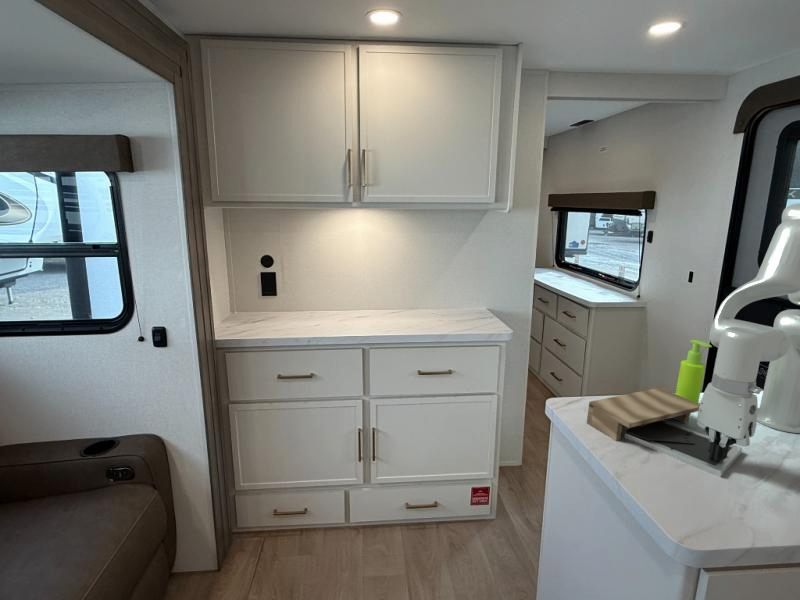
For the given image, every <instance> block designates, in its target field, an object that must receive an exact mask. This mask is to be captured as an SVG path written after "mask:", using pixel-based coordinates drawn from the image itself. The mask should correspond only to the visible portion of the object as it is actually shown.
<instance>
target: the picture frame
mask: <svg viewBox="0 0 800 600" xmlns="http://www.w3.org/2000/svg"><path fill="white" fill-rule="evenodd" d="M624 439H626V440H629V441H631V442H633V441H634V443H635V444H638V443H639V444H638V445H641V444H642V445H641V446H643V445H644V446H643V447H645V446H646V448H648V447H649V449H650V448H652V449H651V450H653V449H654V450H653V451H655V450H657V451H656V452H658V451H660V452H662V453H664V454H663V455H665V454H666V455H665V456H667V455H669V456H668V457H670V456H671V457H670V458H672V457H673V459H675V458H676V459H675V460H677V461H679V460H680V462H681V463H685V464H687V465H690V466H692V467H695V468H697V469H699V470H701V471H704V472H706V473H709V474H710V475H713V476H716V477H718V478H721V477H722V476H723V475H724V474H725V473H726V471H727V470H728V469H729V468H730V467H731V466H732V464H734V463H735V461H736V459H738V458H739V456H740V455H741V454H742V450H743V447H741V446H739V445H736V444H733V445H730V446H729V449H728V454H727V457H726V459H724V460H722V461H718V462H716V461H714V460H713V459H710V458H709V455H710V453H709V449H710V444H711V441H710V440H709V436H708V434H703V433H701V432H699V431H696V430H693V429H691V428H687V427H685V426H682V425H680V424H676V423H674V422H671V421H668V420H666V419H664V420H660V421H656V422H652V423H648V424H643V425H639V426H635V427H631V428H627V429H626V430H625V433H624ZM660 452H659V453H660ZM662 453H661V454H662Z"/></svg>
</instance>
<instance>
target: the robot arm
mask: <svg viewBox="0 0 800 600" xmlns="http://www.w3.org/2000/svg"><path fill="white" fill-rule="evenodd" d="M775 229H776V230H775V231H774V234H773V236H772V238H771V241H770V243H769V246H768V248H767V251H766V253H765V255H764V258H763V260H762V263H761V265H760V267H759V270H758V272H757V274H756V277H754V278H753V279H752V280H750V281H747V282H746V283H744V284H742V285H740V286H739V287H738V288H736V289H735V290H733V291H732V292H731V293H729V295H727V296H726V298H725V299H724V300H723V301H722V302H721V303H720V306H719V308H718V310H717V312H716V314H715V317H714V319H713V320H712V324H711V328H710V330H709V341H710V343H711V344H712V345H713V347H715V348H717V352H716V358H715V361H714V368H713V373H712V378H711V382H709V383H708V384H707V386H706V388H705V390H704V392H703V394H702V398H701V400H700V403H699V404H700V406H699V410H698V411H697V421H696V424H697V426H699V427H700V428H701V429H702V430H704V431H705V432H706V435H707V436H709V440H710V441H711V444H710V449H709V453H710V455H709V458H710V459H713V460H714V461H716V462H718V461H722V460H724V459H726V457H727V454H728V449H729V446H730V445H735V446H739V447H745V448H746V447H749V446H750V438H753V437H754V436H755V432H756V428H757V423H760V424H762V425H764V426H766V427H769V428H771V429H774V430H778V431H782V432H787V433H793V434H800V309H793V308H792V309H786V310H782V311H780V312H779V313H778V314H777V315H776V317H775V318H774V321H773V326H769V325H764V324H759V323H755V322H751V321H746V320H741V319H736V318H735V317H736V315H737V314H738V312H740V310H741V309H743V308H744V307H745V306H747V305H749V304H751V303H753V302H756V301H761V300H763V299H769V298H775V297H780V296H781V297H782V296H787V297H788V300H789V301H790V302H791V303H792V304H794V305H797V306H800V203H799V202H797V203H794V204H793V203H792V204H789V205H787V206H785V208H784V209H783V211H782V213H781V223H780V224H779V225H778V226H777V227H776V228H775ZM760 362H769V364H768V369H767V373H766V377H765V383H764V387H763V391H762V389H761V388H760V387H758V386H757V376H758V372H759V367H760V364H761V363H760ZM761 392H762V396H761V400H760V405H759V407H758V396H757V395H759V394H760V393H761ZM756 394H757V395H756Z"/></svg>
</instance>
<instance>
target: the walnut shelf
mask: <svg viewBox="0 0 800 600" xmlns="http://www.w3.org/2000/svg"><path fill="white" fill-rule="evenodd" d="M699 406H700V403H698V404H697V403H695V402H693V401H690V400H688V399H686V398H683V397H681V396H679V395H676V393H674V392H671V391H669V390H667V389H665V388H662V387H657V388H652V389H651V388H650V389H645V390H641V391H637V392H631V393H627V394H621V395H617V396H611V397H606V398H601V399H596V400H592V401H589V402H588V409H587V419H586V424H587V425H589V426H590V427H592V428H594V429H595V430H597V431H599V432H601V433H602V434H603V435H605V436H607V437H609V438H611V440H613V441H615V442H616V441H620V440H621V436H622V428H623V426H624V427H626V428H627V429H629V428H631V427H635V426H639V425H643V424H648V423H652V422H656V421H660V420H668V419H671V418H673V419H675V420H677V421H679V422H681V423H683V424H687V423H689V420H690V415H691V414H692V413H698V410H699Z"/></svg>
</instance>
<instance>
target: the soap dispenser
mask: <svg viewBox="0 0 800 600" xmlns="http://www.w3.org/2000/svg"><path fill="white" fill-rule="evenodd" d="M689 342H690V343H693V344H692V347H691V348H692V349H690V350H688V351H687V352H688V353H687V357H686V359H684V360H681V362H680V366H679V372H678V377H677V384H676V389H675V394H676V395H679V396H681V397H683V398H686V399H688V400H690V401H693V402H695V403H697V404H699V401H700V395H701V390H702V384H703V381H704V380H703V379H704V374H705V370H706V369H705V368H706V365H705V364H704V363H702V357H703V352H702V351H700V348H701V346H702V347H704V348H706V349H707V348H712V347H713V346H712V345H711V344H710V343H708V342H706V341H703V340H700V339H690V341H689Z"/></svg>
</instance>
